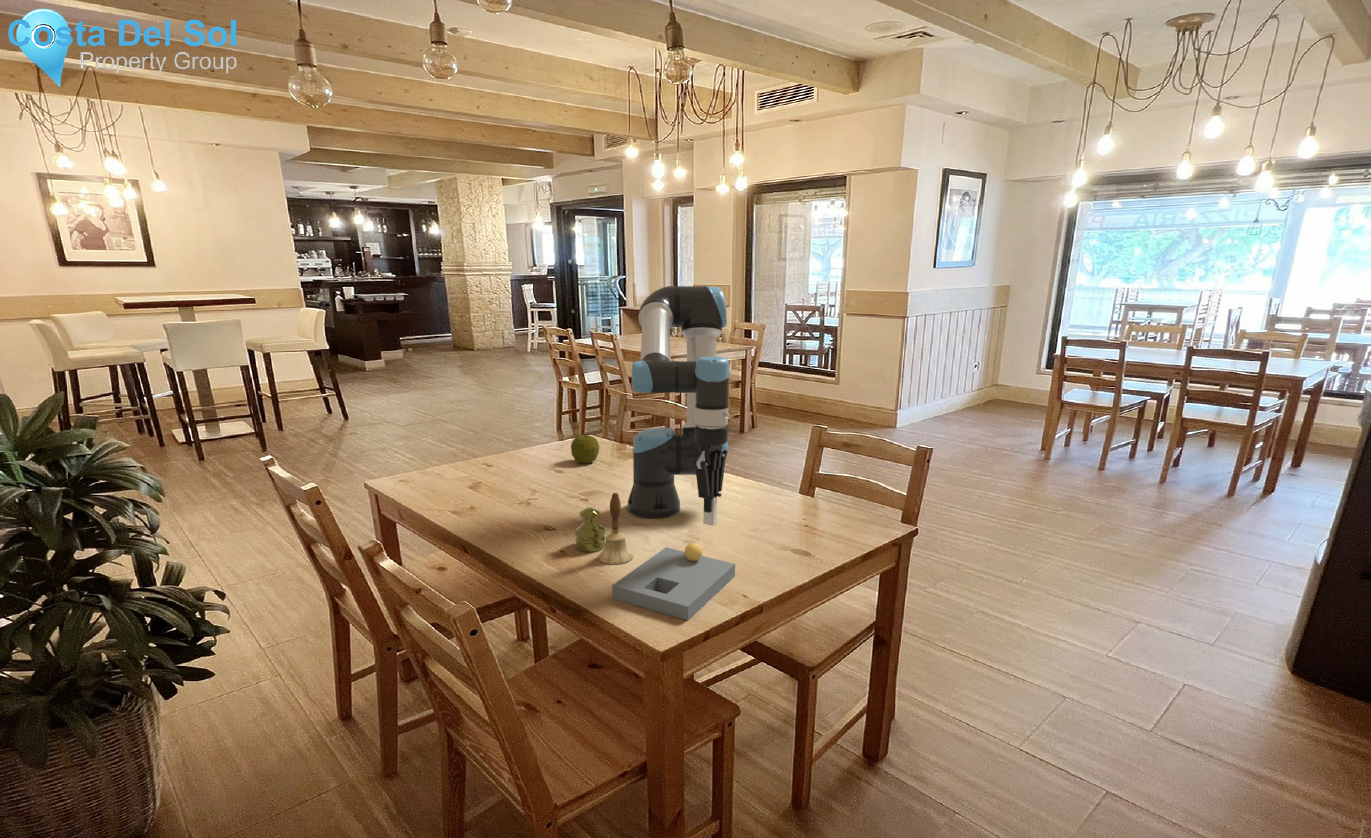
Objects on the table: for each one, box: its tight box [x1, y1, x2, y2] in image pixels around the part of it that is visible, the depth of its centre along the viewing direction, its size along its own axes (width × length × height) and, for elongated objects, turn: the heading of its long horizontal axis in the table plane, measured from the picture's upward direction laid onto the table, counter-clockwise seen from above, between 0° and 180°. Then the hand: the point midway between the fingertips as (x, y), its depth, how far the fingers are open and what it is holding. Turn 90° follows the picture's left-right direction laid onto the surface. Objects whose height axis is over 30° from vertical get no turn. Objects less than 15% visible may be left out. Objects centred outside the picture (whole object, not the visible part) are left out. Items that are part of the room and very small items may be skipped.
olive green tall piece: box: [574, 506, 606, 553], centre depth 160 cm, size 7×7×10 cm
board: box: [611, 547, 736, 621], centre depth 140 cm, size 18×22×3 cm
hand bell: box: [598, 492, 634, 565], centre depth 153 cm, size 8×8×16 cm
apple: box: [570, 432, 600, 464], centre depth 231 cm, size 10×10×11 cm
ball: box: [684, 542, 703, 561], centre depth 146 cm, size 4×4×4 cm
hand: (709, 523), depth 151 cm, fingers closed
